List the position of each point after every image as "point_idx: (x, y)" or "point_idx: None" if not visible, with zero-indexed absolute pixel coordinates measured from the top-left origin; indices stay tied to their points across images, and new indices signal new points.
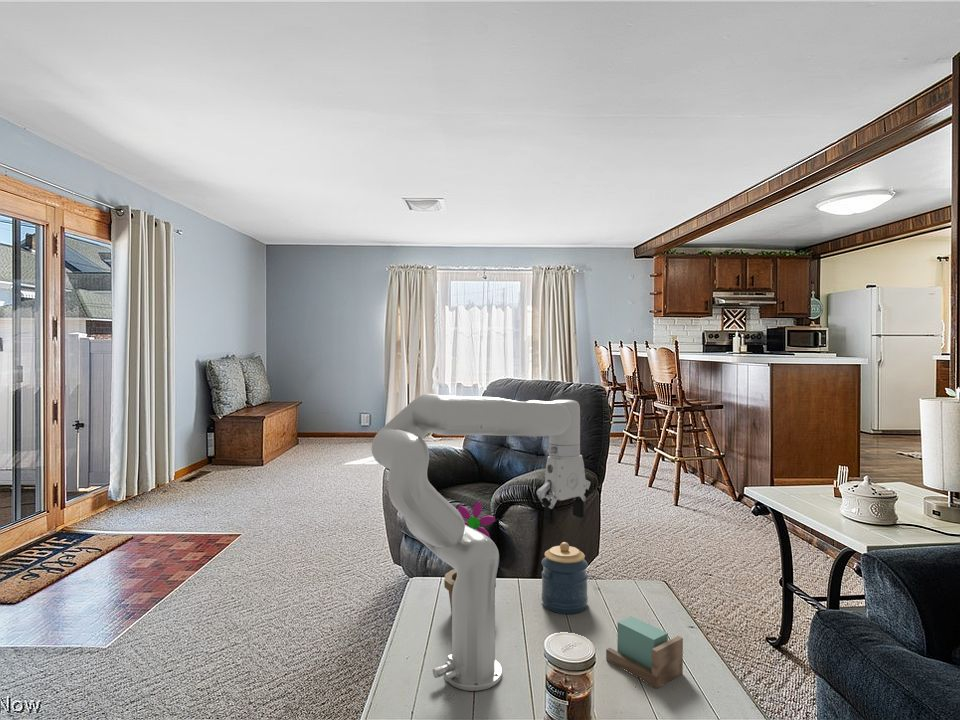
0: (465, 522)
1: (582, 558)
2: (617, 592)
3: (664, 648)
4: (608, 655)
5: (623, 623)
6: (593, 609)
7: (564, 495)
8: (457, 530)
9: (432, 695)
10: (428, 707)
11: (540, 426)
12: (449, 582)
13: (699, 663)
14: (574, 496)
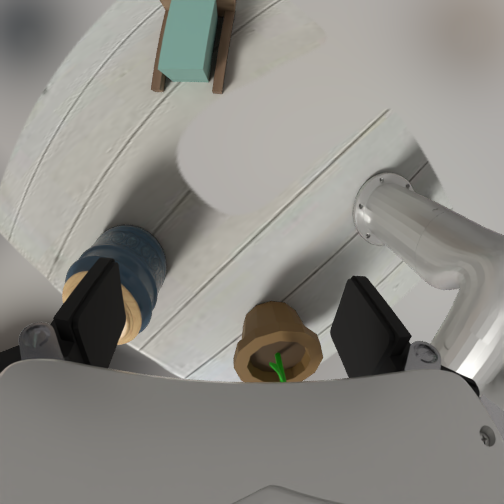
0: None
1: (79, 273)
2: (42, 232)
3: None
4: (222, 88)
5: (199, 58)
6: (105, 217)
7: (417, 403)
8: None
9: None
10: (444, 201)
11: None
12: (318, 363)
13: (127, 15)
14: (215, 386)
